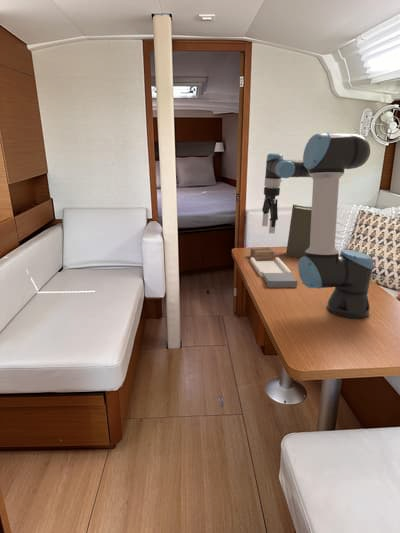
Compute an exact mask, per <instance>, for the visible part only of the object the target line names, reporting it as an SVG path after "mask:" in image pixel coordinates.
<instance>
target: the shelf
mask: <svg viewBox="0 0 400 533" xmlns="http://www.w3.org/2000/svg"><path fill="white" fill-rule="evenodd" d="M249 260H250V262H249V263H251V265H252V266H253V268H254V269H255V271H256V272H257V274H258V275H259V276H260V277H263V273H291V274H292V273H293V272H292V270H290V269H289V267H288V266H287V265H286V264H285V263H284V262H283V261H282V259H281V258H280V257H279V256H277V257H275V260H265V261H256V260H255V259H254V257H250V259H249ZM292 275H293V274H292Z"/></svg>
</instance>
